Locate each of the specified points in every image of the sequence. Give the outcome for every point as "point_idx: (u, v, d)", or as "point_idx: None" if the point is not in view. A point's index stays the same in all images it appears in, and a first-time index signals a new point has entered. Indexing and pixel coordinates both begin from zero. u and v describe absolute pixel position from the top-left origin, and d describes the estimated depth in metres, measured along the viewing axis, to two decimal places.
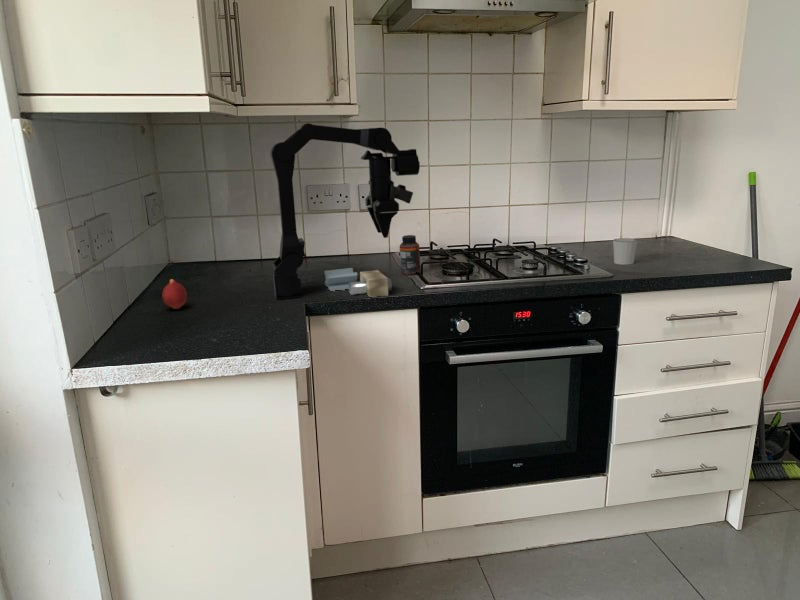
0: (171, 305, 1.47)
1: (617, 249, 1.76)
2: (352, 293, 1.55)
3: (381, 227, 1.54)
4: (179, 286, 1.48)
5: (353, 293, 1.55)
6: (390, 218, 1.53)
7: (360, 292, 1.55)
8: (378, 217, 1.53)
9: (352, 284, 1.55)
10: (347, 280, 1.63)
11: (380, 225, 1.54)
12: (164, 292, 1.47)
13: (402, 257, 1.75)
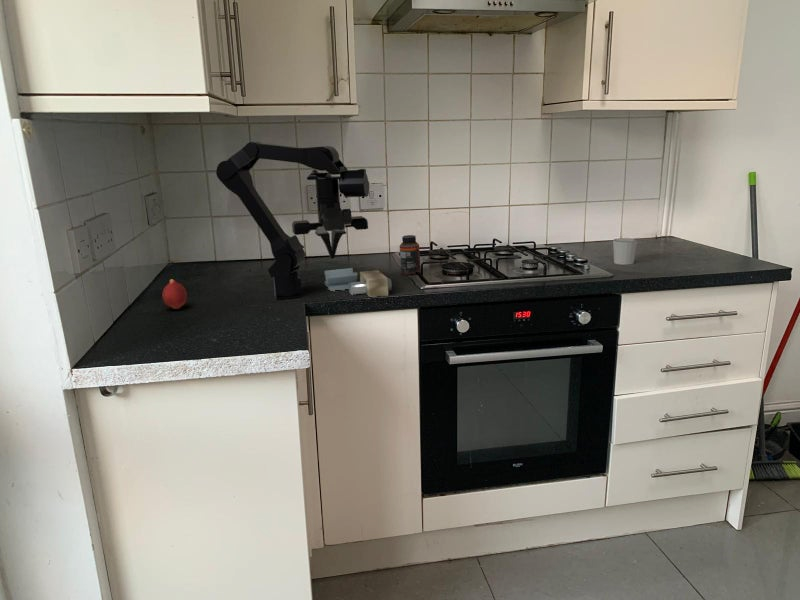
0: (171, 305, 1.47)
1: (617, 249, 1.76)
2: (352, 293, 1.55)
3: (326, 246, 1.53)
4: (179, 286, 1.48)
5: (353, 293, 1.55)
6: None
7: (360, 292, 1.55)
8: (321, 236, 1.52)
9: (352, 284, 1.55)
10: (347, 280, 1.63)
11: (325, 244, 1.53)
12: (164, 292, 1.47)
13: (402, 257, 1.75)
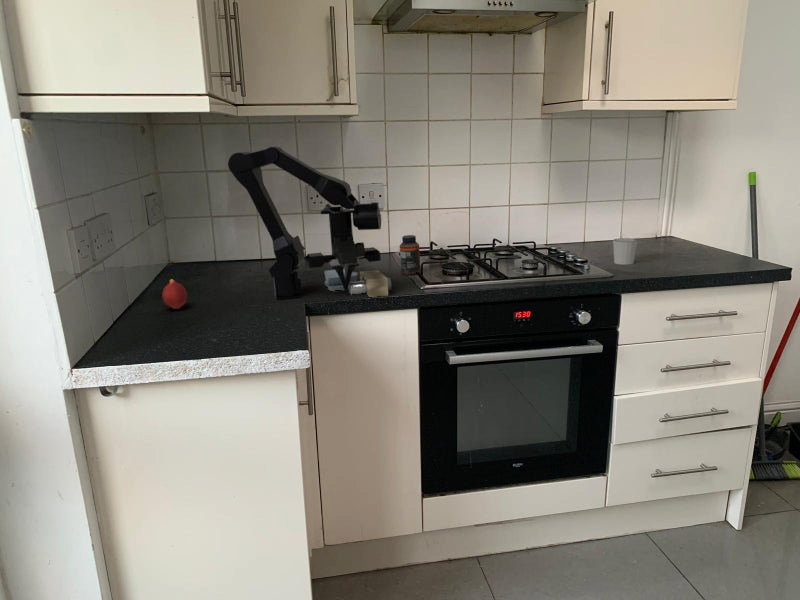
0: (171, 305, 1.47)
1: (617, 249, 1.76)
2: (352, 291, 1.55)
3: None
4: (179, 286, 1.48)
5: (353, 291, 1.55)
6: None
7: (360, 290, 1.56)
8: None
9: (351, 282, 1.56)
10: None
11: (338, 275, 1.56)
12: (164, 292, 1.47)
13: (402, 257, 1.75)
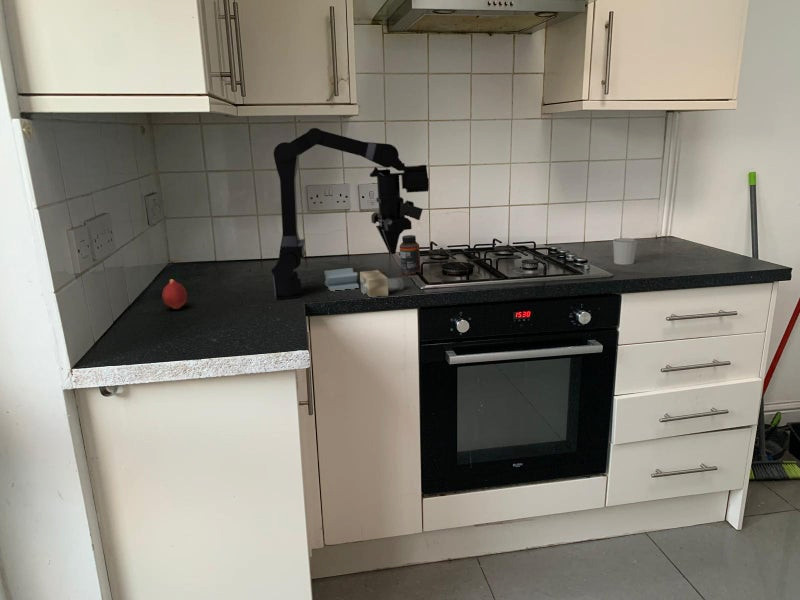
0: (171, 305, 1.47)
1: (617, 249, 1.76)
2: (364, 293, 1.56)
3: (389, 243, 1.54)
4: (179, 286, 1.48)
5: (365, 293, 1.56)
6: (398, 234, 1.53)
7: None
8: (386, 234, 1.52)
9: (364, 284, 1.55)
10: (347, 280, 1.63)
11: (388, 241, 1.53)
12: (164, 292, 1.47)
13: (402, 257, 1.75)
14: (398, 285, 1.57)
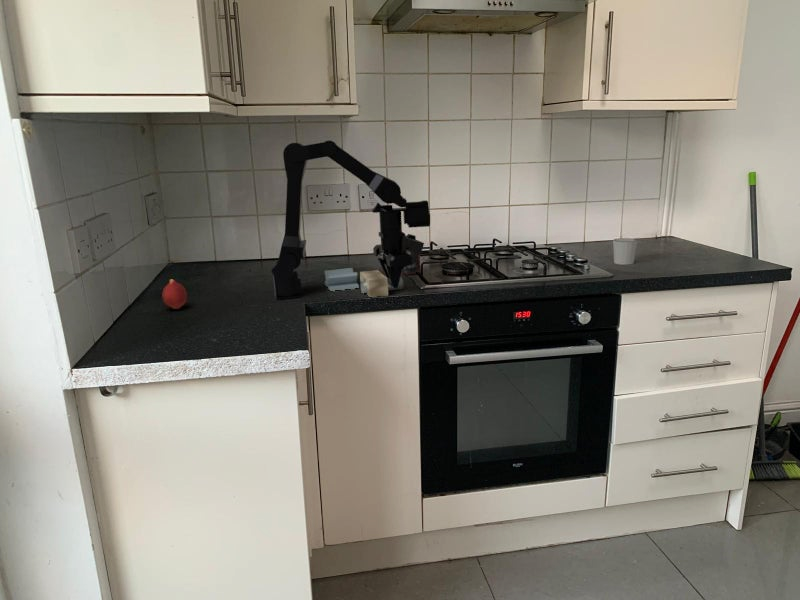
0: (171, 305, 1.47)
1: (617, 249, 1.76)
2: (364, 291, 1.56)
3: (392, 278, 1.55)
4: (179, 286, 1.48)
5: (365, 291, 1.56)
6: (401, 269, 1.55)
7: None
8: (389, 268, 1.54)
9: (364, 282, 1.56)
10: (347, 280, 1.63)
11: (391, 276, 1.55)
12: (164, 292, 1.47)
13: None
14: None
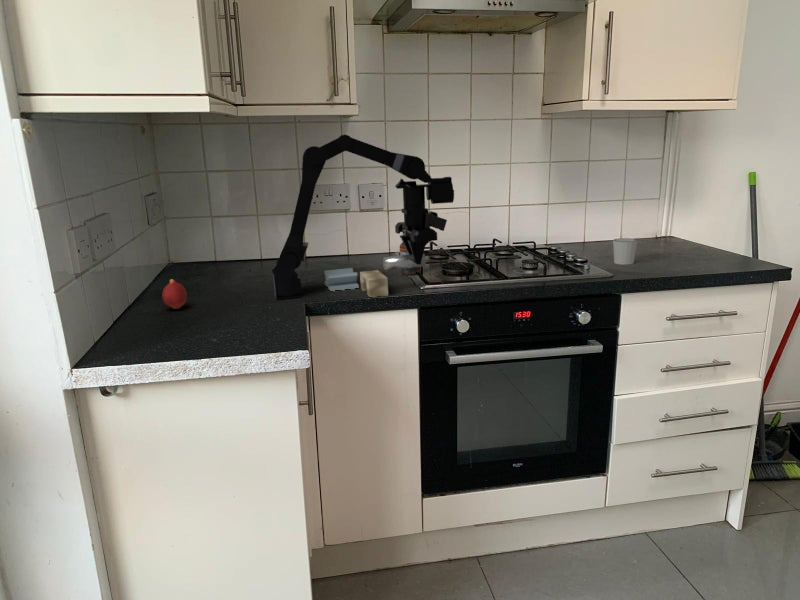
0: (171, 305, 1.47)
1: (617, 249, 1.76)
2: (387, 267, 1.56)
3: (415, 254, 1.55)
4: (179, 286, 1.48)
5: (388, 267, 1.56)
6: (424, 245, 1.55)
7: (395, 266, 1.56)
8: (412, 245, 1.54)
9: (387, 258, 1.56)
10: (347, 280, 1.63)
11: (414, 252, 1.55)
12: (164, 292, 1.47)
13: None
14: None
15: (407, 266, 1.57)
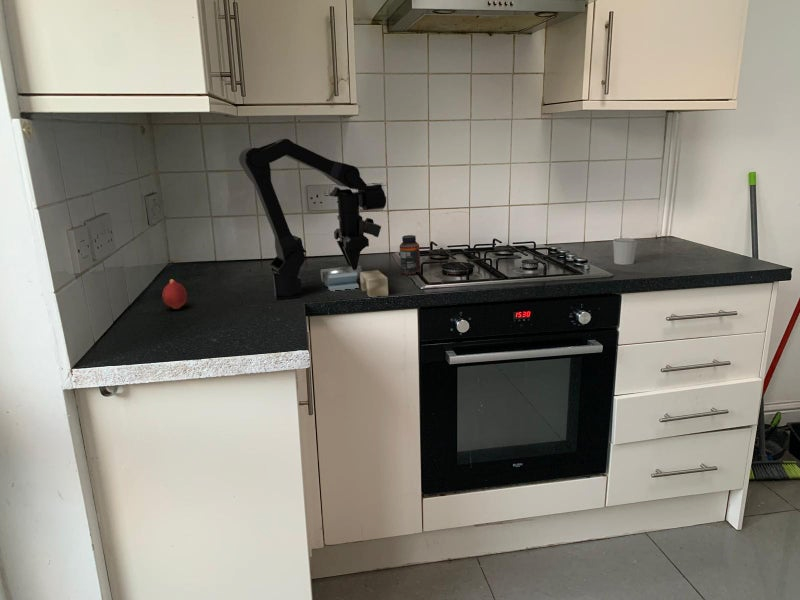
0: (171, 305, 1.47)
1: (617, 249, 1.76)
2: (323, 279, 1.62)
3: (350, 260, 1.60)
4: (179, 286, 1.48)
5: (324, 279, 1.62)
6: (359, 251, 1.60)
7: None
8: (347, 251, 1.59)
9: (323, 270, 1.62)
10: (347, 280, 1.63)
11: (349, 258, 1.60)
12: (164, 292, 1.47)
13: (402, 257, 1.75)
14: (357, 271, 1.64)
15: None
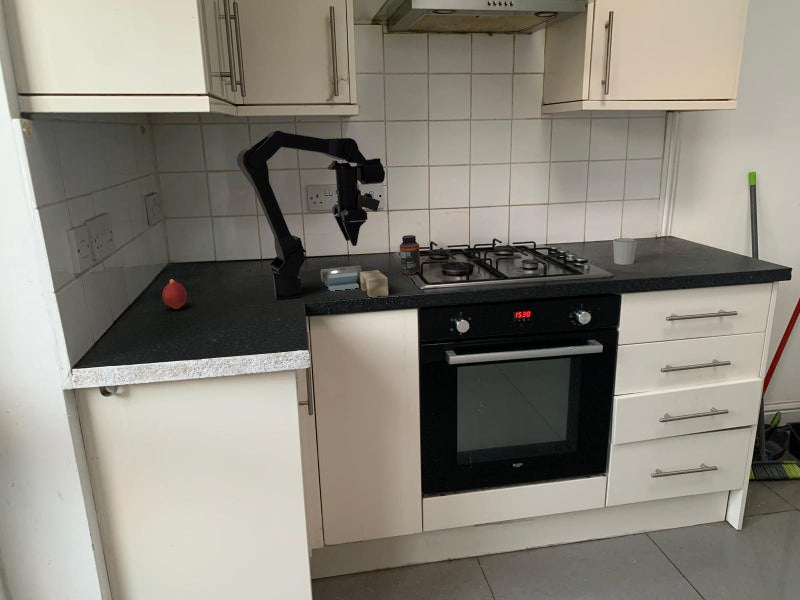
0: (171, 305, 1.47)
1: (617, 249, 1.76)
2: (323, 279, 1.62)
3: (350, 236, 1.57)
4: (179, 286, 1.48)
5: (324, 279, 1.62)
6: (358, 227, 1.56)
7: None
8: (347, 226, 1.55)
9: (323, 270, 1.62)
10: (347, 280, 1.63)
11: (349, 234, 1.57)
12: (164, 292, 1.47)
13: (402, 257, 1.75)
14: (357, 271, 1.64)
15: None
